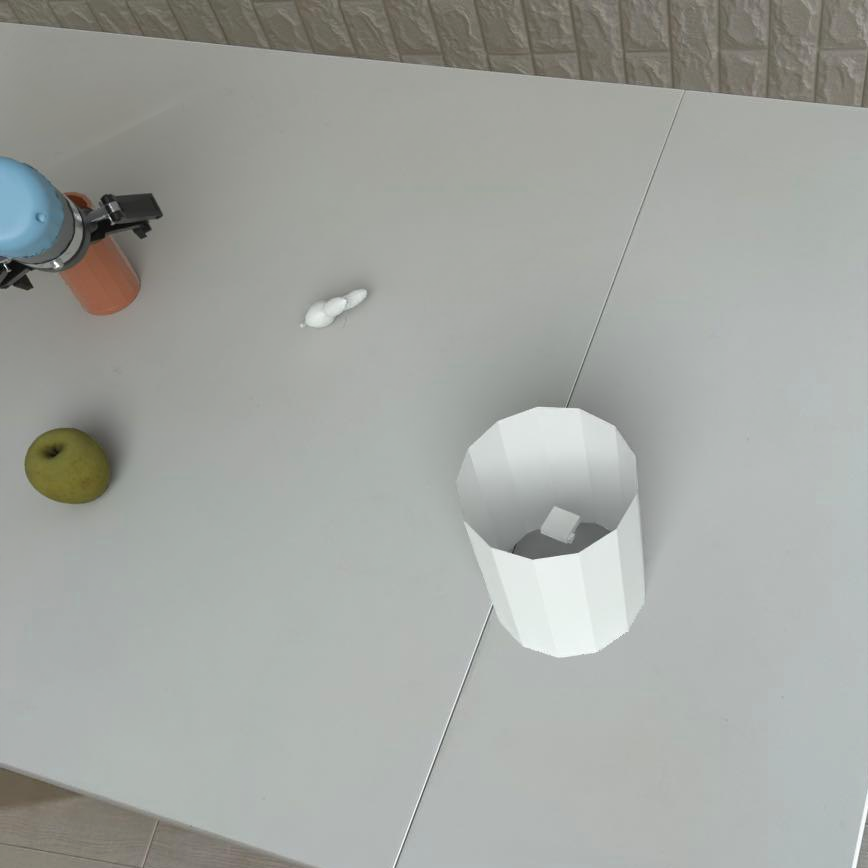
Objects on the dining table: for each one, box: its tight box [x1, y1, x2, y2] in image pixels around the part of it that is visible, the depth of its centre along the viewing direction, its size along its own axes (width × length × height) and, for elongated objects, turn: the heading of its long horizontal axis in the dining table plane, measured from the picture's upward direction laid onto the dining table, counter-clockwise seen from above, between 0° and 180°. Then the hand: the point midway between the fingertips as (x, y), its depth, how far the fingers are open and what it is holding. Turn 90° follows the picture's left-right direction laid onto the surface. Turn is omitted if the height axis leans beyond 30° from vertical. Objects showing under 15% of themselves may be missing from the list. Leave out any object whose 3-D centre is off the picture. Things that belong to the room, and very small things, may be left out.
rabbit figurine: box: [299, 288, 368, 329], centre depth 117 cm, size 6×4×8 cm
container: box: [454, 406, 646, 659], centre depth 90 cm, size 14×14×18 cm
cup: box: [56, 191, 141, 316], centre depth 121 cm, size 7×7×12 cm
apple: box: [23, 427, 111, 505], centre depth 108 cm, size 8×8×7 cm
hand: (81, 252), depth 117 cm, fingers open, 13 cm apart
